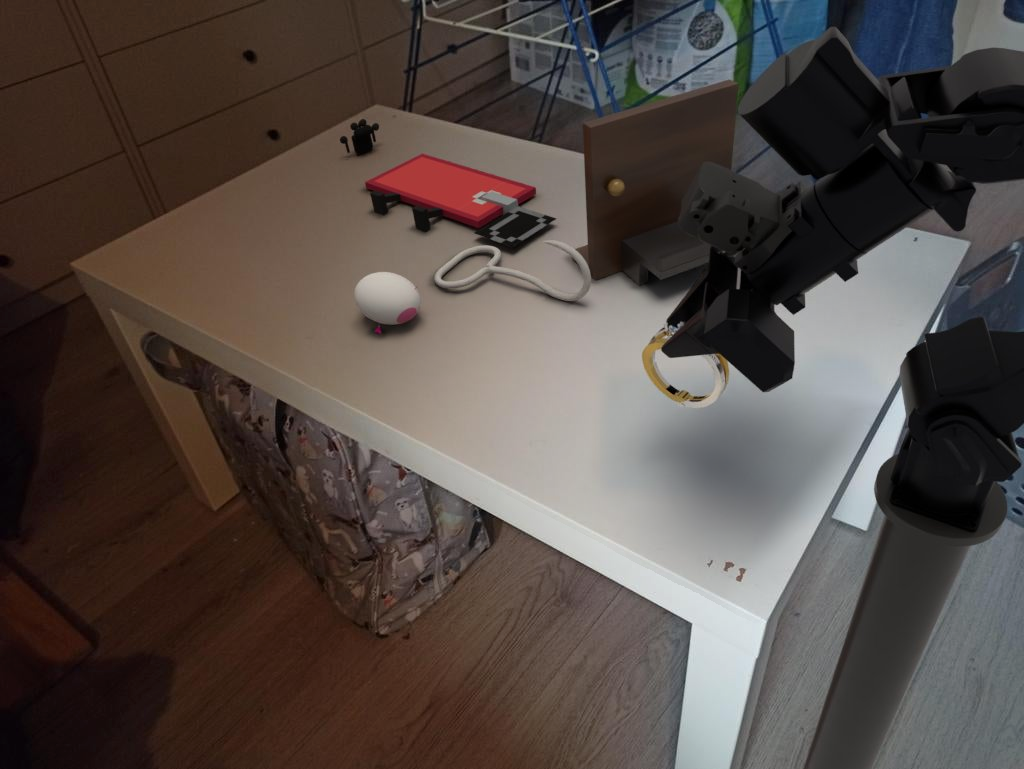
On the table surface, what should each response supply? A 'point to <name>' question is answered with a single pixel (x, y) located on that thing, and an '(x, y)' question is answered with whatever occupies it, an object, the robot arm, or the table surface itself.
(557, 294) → the white cord
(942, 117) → the robot arm
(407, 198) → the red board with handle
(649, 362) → the ring
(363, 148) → the wireless earbuds
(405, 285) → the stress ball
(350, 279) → the table surface
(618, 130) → the door rack
